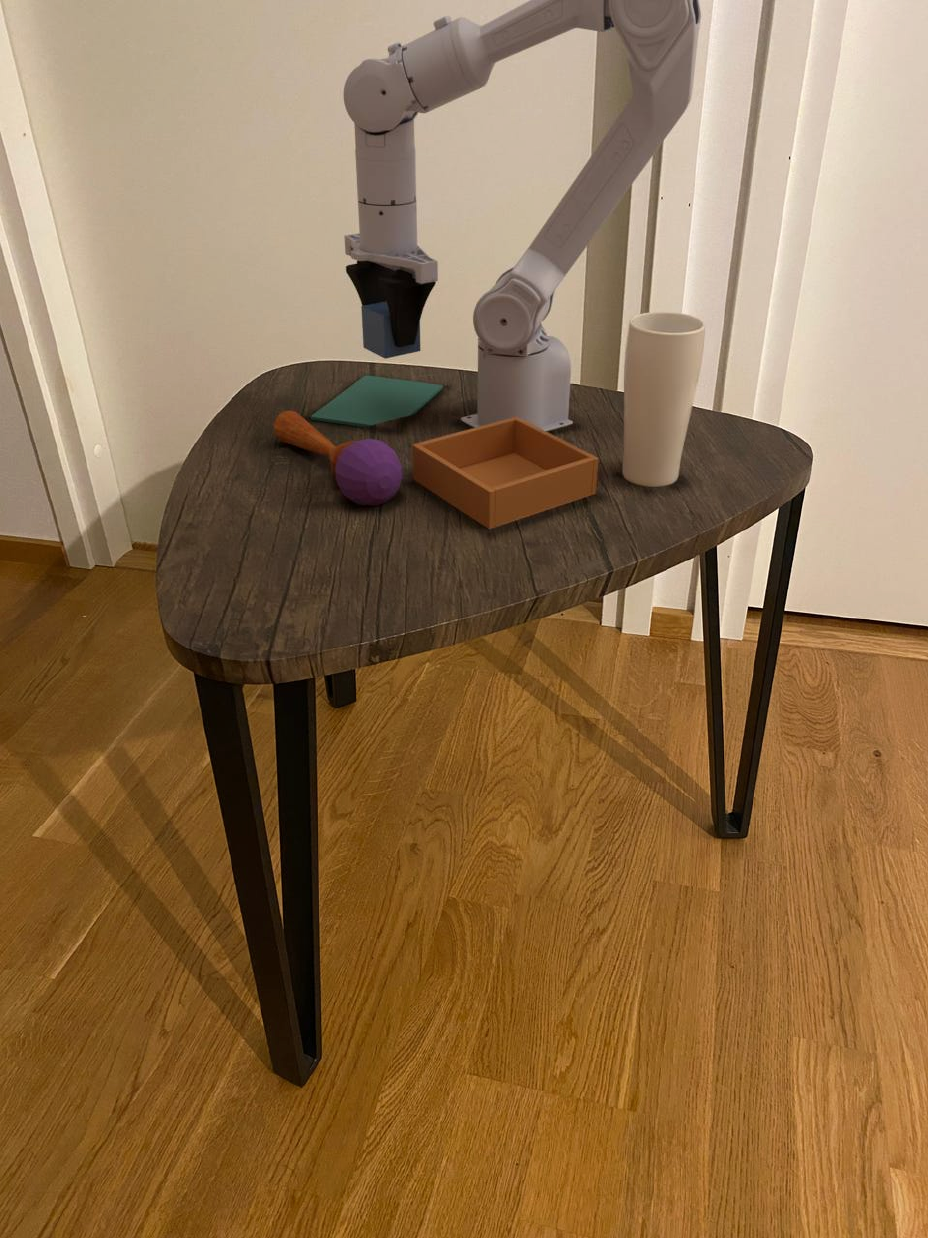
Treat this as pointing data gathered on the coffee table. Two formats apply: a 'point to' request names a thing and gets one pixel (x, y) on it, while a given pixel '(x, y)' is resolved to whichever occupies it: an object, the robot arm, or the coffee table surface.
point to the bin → (504, 471)
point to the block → (382, 332)
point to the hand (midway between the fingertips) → (392, 338)
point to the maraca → (348, 460)
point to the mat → (377, 401)
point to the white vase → (659, 393)
